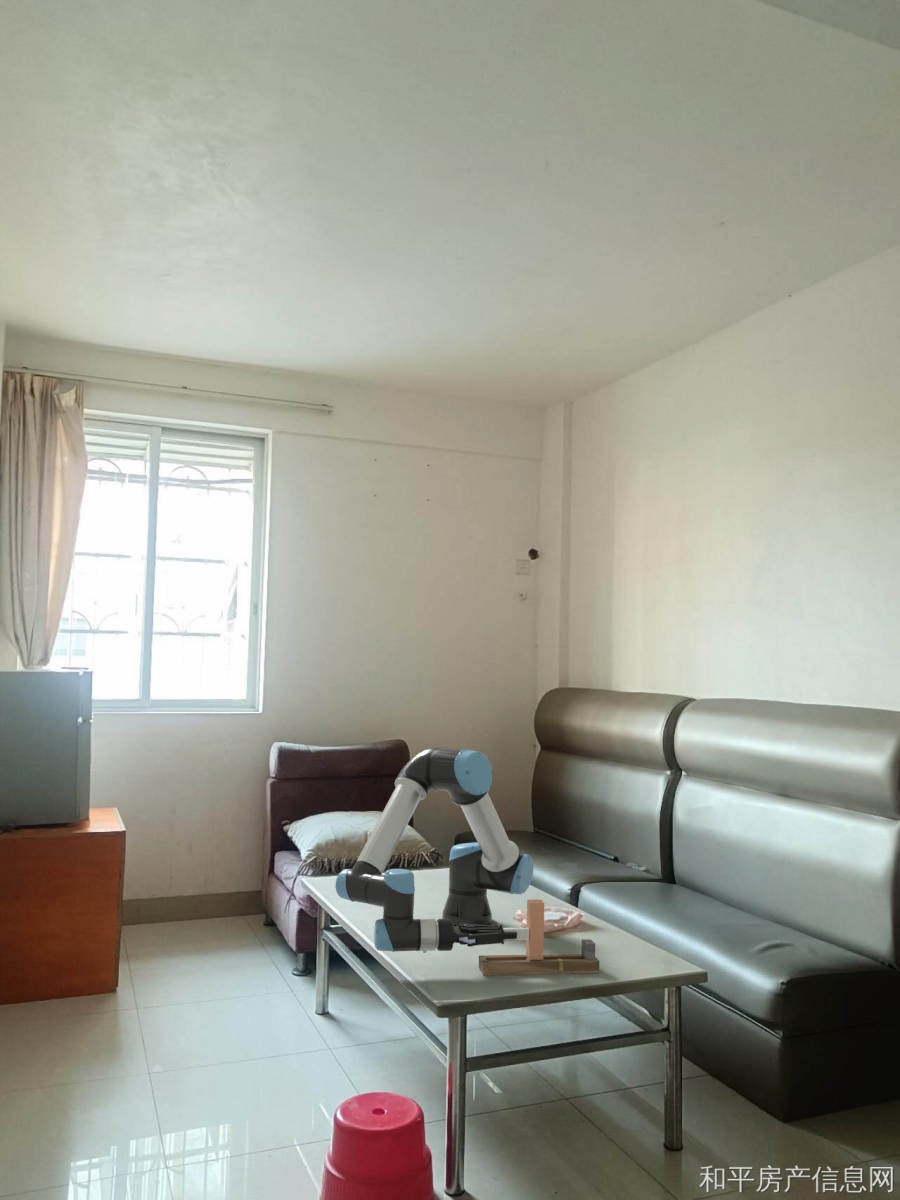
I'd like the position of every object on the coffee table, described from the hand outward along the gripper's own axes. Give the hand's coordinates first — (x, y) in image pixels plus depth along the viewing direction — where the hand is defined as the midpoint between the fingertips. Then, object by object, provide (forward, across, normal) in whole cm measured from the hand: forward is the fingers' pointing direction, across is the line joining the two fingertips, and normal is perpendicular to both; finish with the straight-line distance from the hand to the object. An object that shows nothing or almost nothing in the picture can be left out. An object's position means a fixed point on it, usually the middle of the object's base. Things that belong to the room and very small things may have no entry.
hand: (528, 933), depth 235 cm
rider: (+2, -1, -9) cm, 10 cm away
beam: (+3, -1, -9) cm, 10 cm away
